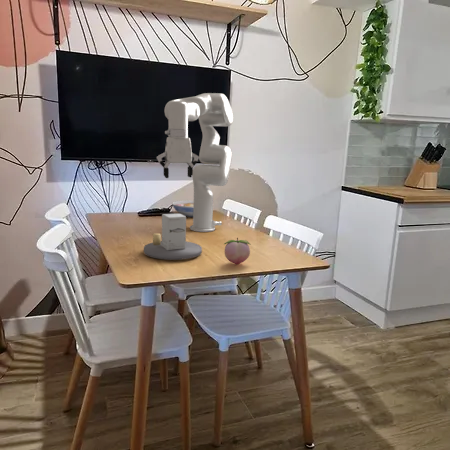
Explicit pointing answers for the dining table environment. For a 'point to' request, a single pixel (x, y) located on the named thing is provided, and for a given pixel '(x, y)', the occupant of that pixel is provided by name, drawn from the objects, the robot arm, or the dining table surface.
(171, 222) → the supplement box
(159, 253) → the disc
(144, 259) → the dining table surface
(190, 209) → the ramen bowl
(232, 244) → the decorative fruit
